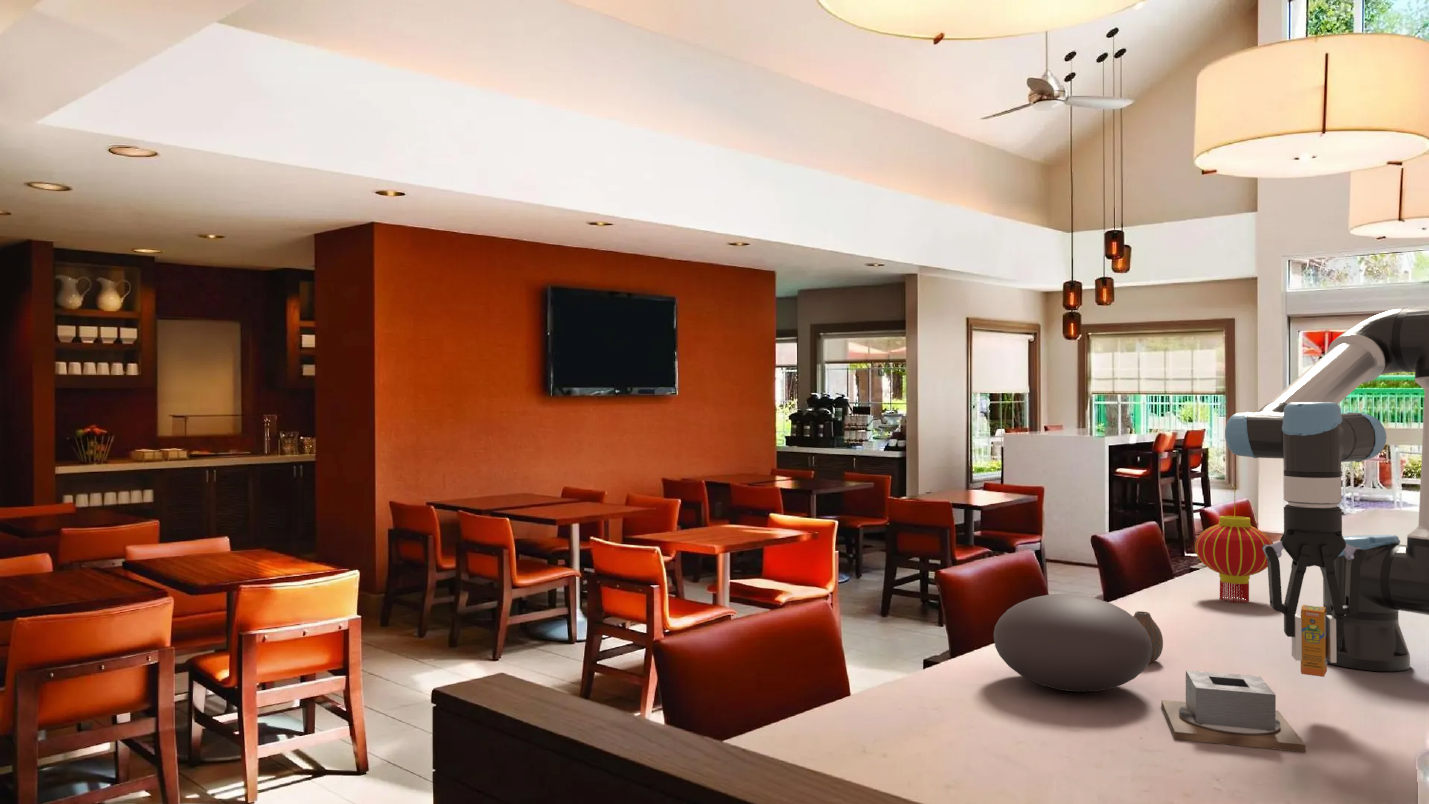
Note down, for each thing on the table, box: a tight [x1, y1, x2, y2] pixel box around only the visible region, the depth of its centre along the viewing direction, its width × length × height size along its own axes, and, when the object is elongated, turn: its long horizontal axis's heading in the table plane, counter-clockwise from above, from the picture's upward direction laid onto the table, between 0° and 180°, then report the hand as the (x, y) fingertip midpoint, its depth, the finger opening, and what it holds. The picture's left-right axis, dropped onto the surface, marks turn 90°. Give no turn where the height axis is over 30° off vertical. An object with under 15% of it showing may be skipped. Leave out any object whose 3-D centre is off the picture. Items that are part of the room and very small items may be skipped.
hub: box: [1179, 669, 1280, 736], centre depth 144 cm, size 13×13×6 cm
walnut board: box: [1160, 699, 1307, 753], centre depth 144 cm, size 16×16×1 cm
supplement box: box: [1300, 604, 1328, 678], centre depth 151 cm, size 3×3×10 cm
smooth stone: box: [993, 593, 1152, 693], centre depth 165 cm, size 25×25×15 cm
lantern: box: [1194, 487, 1274, 603], centre depth 242 cm, size 17×17×30 cm
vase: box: [1132, 610, 1164, 664], centre depth 183 cm, size 7×7×9 cm
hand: (1313, 659), depth 151 cm, fingers closed on supplement box, 4 cm apart
